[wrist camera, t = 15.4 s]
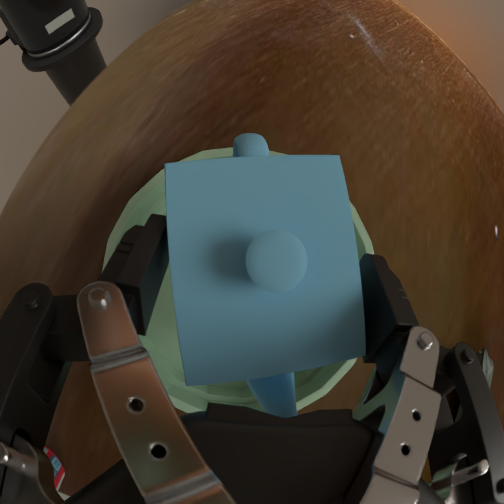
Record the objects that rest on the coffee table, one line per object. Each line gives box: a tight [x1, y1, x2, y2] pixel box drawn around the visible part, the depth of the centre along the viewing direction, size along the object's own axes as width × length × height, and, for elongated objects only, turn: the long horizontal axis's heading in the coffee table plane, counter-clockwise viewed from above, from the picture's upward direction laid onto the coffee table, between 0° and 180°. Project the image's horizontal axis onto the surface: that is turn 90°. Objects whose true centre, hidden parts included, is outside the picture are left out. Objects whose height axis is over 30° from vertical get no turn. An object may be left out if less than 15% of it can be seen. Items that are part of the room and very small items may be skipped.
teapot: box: [164, 133, 366, 418], centre depth 11 cm, size 12×6×8 cm, turn 7°
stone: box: [455, 347, 494, 423], centre depth 20 cm, size 11×4×10 cm
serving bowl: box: [102, 147, 374, 413], centre depth 18 cm, size 16×16×4 cm
